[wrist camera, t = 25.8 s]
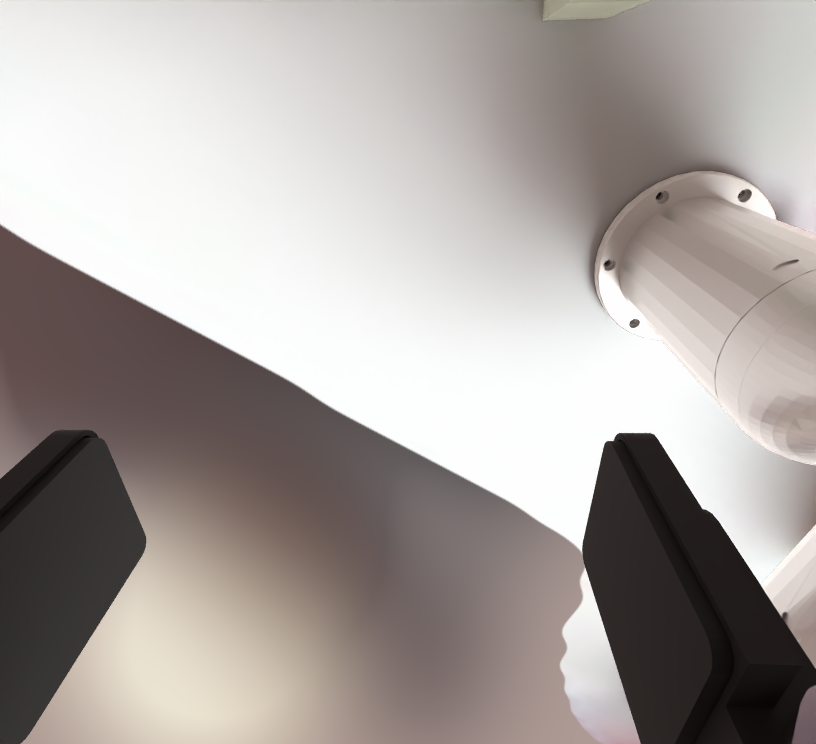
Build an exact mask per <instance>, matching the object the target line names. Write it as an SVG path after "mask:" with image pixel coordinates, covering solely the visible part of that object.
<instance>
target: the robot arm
mask: <svg viewBox="0 0 816 744" xmlns="http://www.w3.org/2000/svg"><path fill="white" fill-rule="evenodd" d="M659 192H661V195H660V197H659V198H657V199H656V196H657V194H658V193H659ZM740 192H741V194H740V195H739V193H740ZM738 195H739V196H738ZM607 260H609V263H608V264H604V263H605V262H606V261H607ZM594 281H595V286H596V291H597V295H598V297H599V299H600V301H601V304H602V306H603V307H604V309H605V310H606V311H607V313H608V314H609V316H610V317H611V318H612V319H613V320H614V321H615V322H616V323H617V324H618V325H619V326H621V327H622V328H624V329H625V330H626V331H628V332H630V333H633V334H635V335H638V336H641V337H643V338H649V339H655V340H661V341H662V342H663V343H664V344H665V345H666V347H667V348H668V349H669V350H670V351H671V352H672V353H673V354H674V355H675V356H676V358H677V359H678V360H679V361H680V362H681V363H682V364H683V365H684V366H685V368H686V369H687V370H688V371H689V372H690V373H691V374H692V375H693V376H694V377H695V379H696V380H697V381H698V382H699V383H700V384H701V385H702V386H703V387H704V389H705V390H706V391H707V392H708V393H709V394H710V395H711V396H712V397H713V398H714V400H715V401H716V402H717V403H718V404H719V405H720V406H721V407H722V408H723V409H724V411H725V412H726V413H727V414H728V415H729V416H730V417H731V419H732V420H733V421H734V422H735V423H736V424H737V425H738V426H739V427H740V428H741V429H742V430H743V431H744V432H745V433H746V434H747V435H748V436H749V437H751V438H752V439H753V440H754V441H756V442H757V443H758V444H760V445H761V446H763V447H764V448H766V449H768V450H770V451H772V452H774V453H776V454H778V455H781V456H783V457H785V458H788V459H791V460H794V461H797V462H801V463H805V464H810V465H815V466H816V235H815V234H813V233H810V232H807V231H805V230H802V229H800V228H797V227H794V226H792V225H789V224H786V223H784V222H781V221H778V220H777V219H776V215H775V211H774V209H773V208H772V206H771V204H770V202H769V200H768V198H767V197H766V196H765V195H764V194H763V193H762V192H761V191H760V190H759V189H758V188H757V187H756V186H754V185H752V184H751V183H749V182H747V181H746V180H744V179H742V178H739V177H736V176H733V175H730V174H726V173H720V172H715V171H694V172H689V173H685V174H680V175H676V176H673V177H671V178H668V179H666V180H663V181H661V182H658V183H656V184H655V185H653V186H651V187H650V188H648V189H646V190H645V191H643V192H641V193H640V194H639V195H638V196H637V197H635V198H634V199H633V200H632V201H631V202H629V203H628V204H627V205H626V206H625V207H624V208H623V209H622V211H621V212H620V213H619V214H618V215H617V216H616V217H615V219H614V220H613V222H612V223H611V225H610V226H609V228H608V230H607V231H606V233H605V234H604V237H603V239H602V242H601V244H600V246H599V249H598V252H597V257H596V262H595V275H594ZM632 319H633V320H632ZM630 320H632V321H630ZM145 547H146V536H145V533H144V531H143V528H142V526H141V524H140V521H139V519H138V517H137V514H136V512H135V510H134V507H133V505H132V503H131V500H130V498H129V496H128V493H127V491H126V489H125V486H124V484H123V482H122V479H121V477H120V475H119V472H118V470H117V468H116V465H115V463H114V461H113V458H112V456H111V454H110V451H109V449H108V447H107V445H106V443H105V441H104V440H103V439H101V438H99V437H98V436H97V434H96V433H94V432H93V431H90V430H59V431H55V432H53V433H52V434H50V435H49V436H48V437H47V438H46V439H45V440H44V441H42V442H41V443H40V444H39V445H38V446H37V447H36V448H35V449H33V450H32V451H31V452H30V453H29V454H28V455H27V456H26V457H24V458H23V459H22V460H21V461H20V462H19V463H18V464H17V465H15V466H14V467H13V468H12V469H11V470H10V471H9V472H8V473H6V474H5V475H4V476H3V477H2V478H1V479H0V744H20V743H22V742H23V740H25V739H26V737H27V736H28V735H29V733H30V732H31V731H32V729H33V727H34V726H35V724H36V723H37V721H38V720H39V718H40V716H41V715H42V713H43V712H44V710H45V708H46V707H47V705H48V704H49V702H50V701H51V699H52V697H53V696H54V694H55V693H56V691H57V689H58V688H59V686H60V685H61V683H62V681H63V680H64V678H65V677H66V675H67V674H68V672H69V671H70V669H71V667H72V666H73V664H74V663H75V661H76V659H77V658H78V656H79V655H80V653H81V651H82V650H83V648H84V647H85V645H86V644H87V642H88V640H89V638H90V637H91V636H92V634H93V632H94V631H95V629H96V628H97V626H98V624H99V623H100V621H101V620H102V618H103V617H104V615H105V614H106V612H107V610H108V609H109V607H110V606H111V604H112V602H113V601H114V599H115V598H116V596H117V595H118V593H119V591H120V590H121V588H122V587H123V585H124V583H125V582H126V580H127V579H128V577H129V576H130V574H131V572H132V570H133V569H134V568H135V566H136V564H137V563H138V561H139V560H140V558H141V557H142V555H143V553H144V550H145ZM582 552H583V560H584V564H585V568H586V571H587V574H588V577H589V580H590V583H591V587H592V590H593V593H594V596H595V599H596V603H597V606H598V609H599V612H600V615H601V618H602V622H603V625H604V628H605V631H606V634H607V637H608V641H609V644H610V647H611V650H612V653H613V656H614V660H615V663H616V666H617V669H618V672H619V675H620V679H621V682H622V685H623V688H624V691H625V694H626V698H627V701H628V704H629V707H630V710H631V714H632V717H633V720H634V723H635V726H636V729H637V733H638V736H639V739H640V742H641V744H816V525H815V526H814V527H813V528H812V529H811V530H810V531H809V532H808V533H807V535H806V536H805V537H804V538H803V539H802V540H801V541H800V542H799V543H798V544H797V545H796V546H795V548H794V549H793V550H792V551H791V552H790V553H789V554H788V555H787V556H786V557H785V558H784V559H783V560H782V562H781V563H780V564H779V565H778V566H777V567H776V568H775V569H774V570H773V571H772V572H771V573H770V575H769V576H768V577H767V578H766V579H765V580H764V581H763V582H762V584H761V585H760V583H759V582H758V580H757V579H756V577H755V576H754V574H753V573H752V571H751V570H750V568H749V567H748V565H747V564H746V562H745V561H744V559H743V558H742V556H741V555H740V553H739V552H738V550H737V549H736V547H735V545H734V544H733V542H732V541H731V539H730V538H729V536H728V535H727V533H726V532H725V530H724V529H723V527H722V526H721V524H720V523H719V521H718V520H717V519H716V518H715V517H714V515H713V514H712V513H710V512H709V511H707V510H703V509H702V508H701V506H700V505H699V503H698V501H697V500H696V498H695V497H694V495H693V494H692V492H691V490H690V489H689V487H688V486H687V484H686V483H685V481H684V480H683V478H682V476H681V475H680V473H679V472H678V470H677V469H676V467H675V465H674V464H673V462H672V461H671V459H670V458H669V456H668V454H667V453H666V451H665V450H664V448H663V447H662V445H661V444H660V442H659V440H658V439H657V438H656V436H655V435H653V434H651V433H619V434H617V435H616V437H615V439H614V441H607V442H606V443H605V445H604V448H603V453H602V457H601V462H600V467H599V471H598V476H597V480H596V485H595V489H594V494H593V499H592V503H591V508H590V512H589V517H588V522H587V526H586V531H585V535H584V540H583V546H582Z"/></svg>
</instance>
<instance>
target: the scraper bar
mask: <svg viewBox="0 0 816 744" xmlns="http://www.w3.org/2000/svg"><path fill="white" fill-rule="evenodd" d="M648 1H650V0H544V7H543V18H542V21H549V20H574V19H599V18H610V17H612V16H615V15H617V14H619V13H622V12H624V11H626V10H629V9H631V8H633V7H636V6H638V5H640V4H643V3H645V2H648Z"/></svg>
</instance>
